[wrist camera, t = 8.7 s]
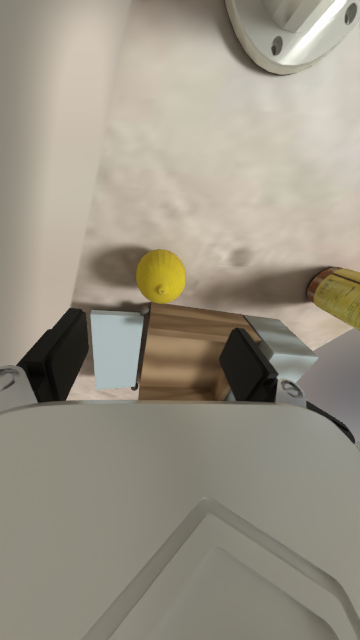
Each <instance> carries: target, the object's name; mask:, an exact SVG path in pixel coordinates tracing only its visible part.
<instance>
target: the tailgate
mask: <svg viewBox="0 0 360 640" xmlns="http://www.w3.org/2000/svg"><path fill="white" fill-rule="evenodd" d="M90 316H91V330H92V344H93V358H94V372H95V386H96V390H100V389H112V388H124V387H135V383H136V375H137V367H138V359H139V351H140V344H141V336H142V328H143V320H144V315H142V314H140V313H138V312H120V311H102V310H91V314H90Z"/></svg>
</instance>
